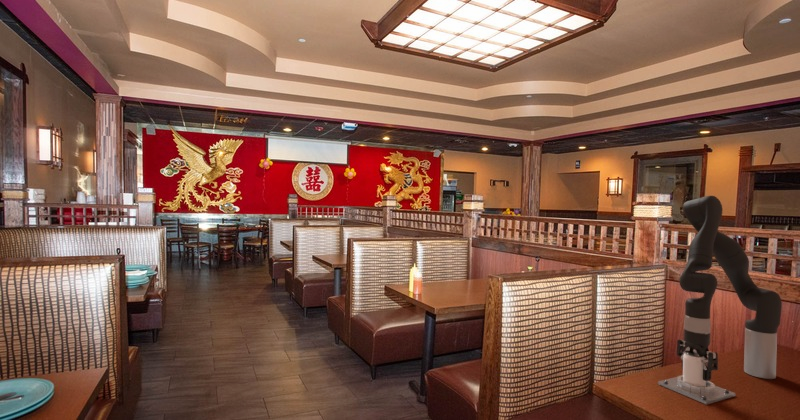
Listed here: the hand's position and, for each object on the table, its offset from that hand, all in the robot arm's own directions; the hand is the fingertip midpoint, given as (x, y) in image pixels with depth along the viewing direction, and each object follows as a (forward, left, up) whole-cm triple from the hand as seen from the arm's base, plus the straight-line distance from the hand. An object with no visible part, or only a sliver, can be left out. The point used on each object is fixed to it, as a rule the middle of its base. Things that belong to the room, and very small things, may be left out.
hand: (695, 375), depth 141 cm
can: (+1, 0, -4) cm, 4 cm away
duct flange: (0, 0, -5) cm, 5 cm away
